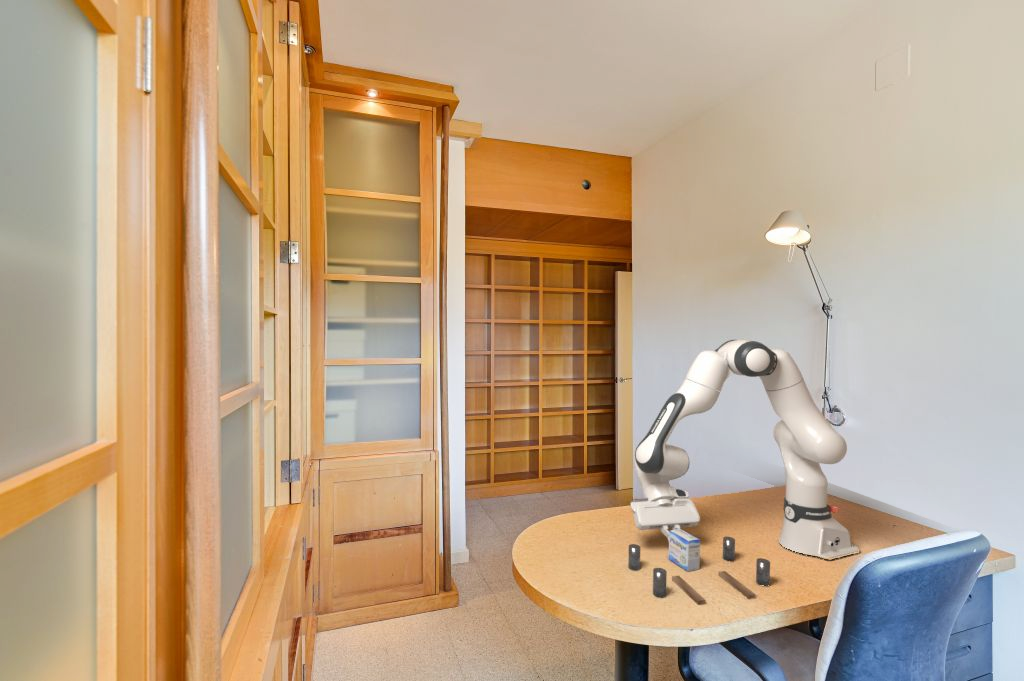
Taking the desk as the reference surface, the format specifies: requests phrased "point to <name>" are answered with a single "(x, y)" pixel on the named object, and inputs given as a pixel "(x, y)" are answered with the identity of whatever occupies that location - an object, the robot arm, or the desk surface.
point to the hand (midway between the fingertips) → (675, 541)
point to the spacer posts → (728, 555)
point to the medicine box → (684, 549)
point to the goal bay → (723, 575)
